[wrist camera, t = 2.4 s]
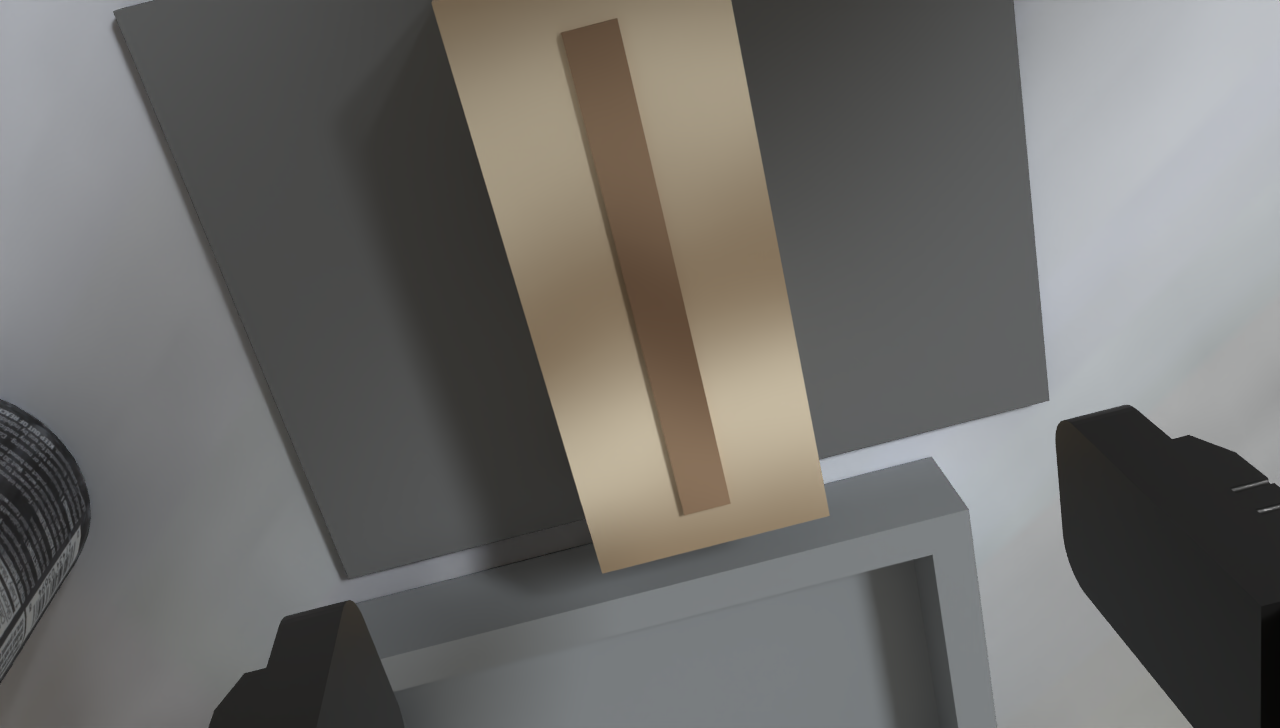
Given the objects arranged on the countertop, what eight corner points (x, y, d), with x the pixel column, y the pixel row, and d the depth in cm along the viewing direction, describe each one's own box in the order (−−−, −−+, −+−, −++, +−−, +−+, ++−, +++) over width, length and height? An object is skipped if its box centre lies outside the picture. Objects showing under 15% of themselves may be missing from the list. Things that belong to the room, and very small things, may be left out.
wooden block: (445, -19, 23) (430, 3, 19) (685, -81, 23) (718, -71, 19) (591, 480, 28) (602, 577, 24) (788, 430, 28) (831, 519, 24)
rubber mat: (986, -215, 23) (993, -216, 22) (1042, 393, 28) (1049, 400, 28) (119, 9, 23) (113, 11, 22) (350, 569, 28) (348, 579, 28)
